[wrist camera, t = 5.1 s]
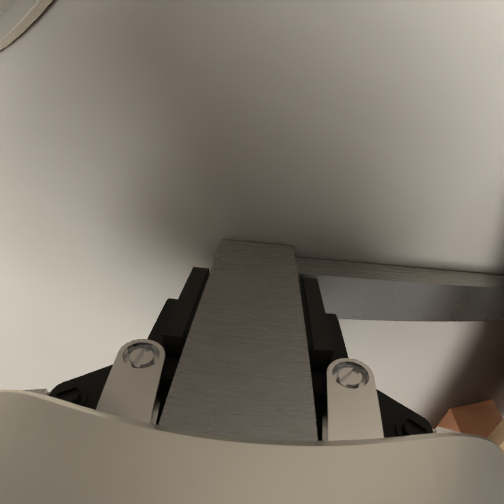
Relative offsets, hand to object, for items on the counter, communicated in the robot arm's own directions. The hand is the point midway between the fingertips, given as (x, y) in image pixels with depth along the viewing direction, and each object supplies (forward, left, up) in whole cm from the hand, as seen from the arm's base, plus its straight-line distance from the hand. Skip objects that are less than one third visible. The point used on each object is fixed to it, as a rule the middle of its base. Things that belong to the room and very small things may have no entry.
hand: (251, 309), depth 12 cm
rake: (+3, +10, -3) cm, 11 cm away
